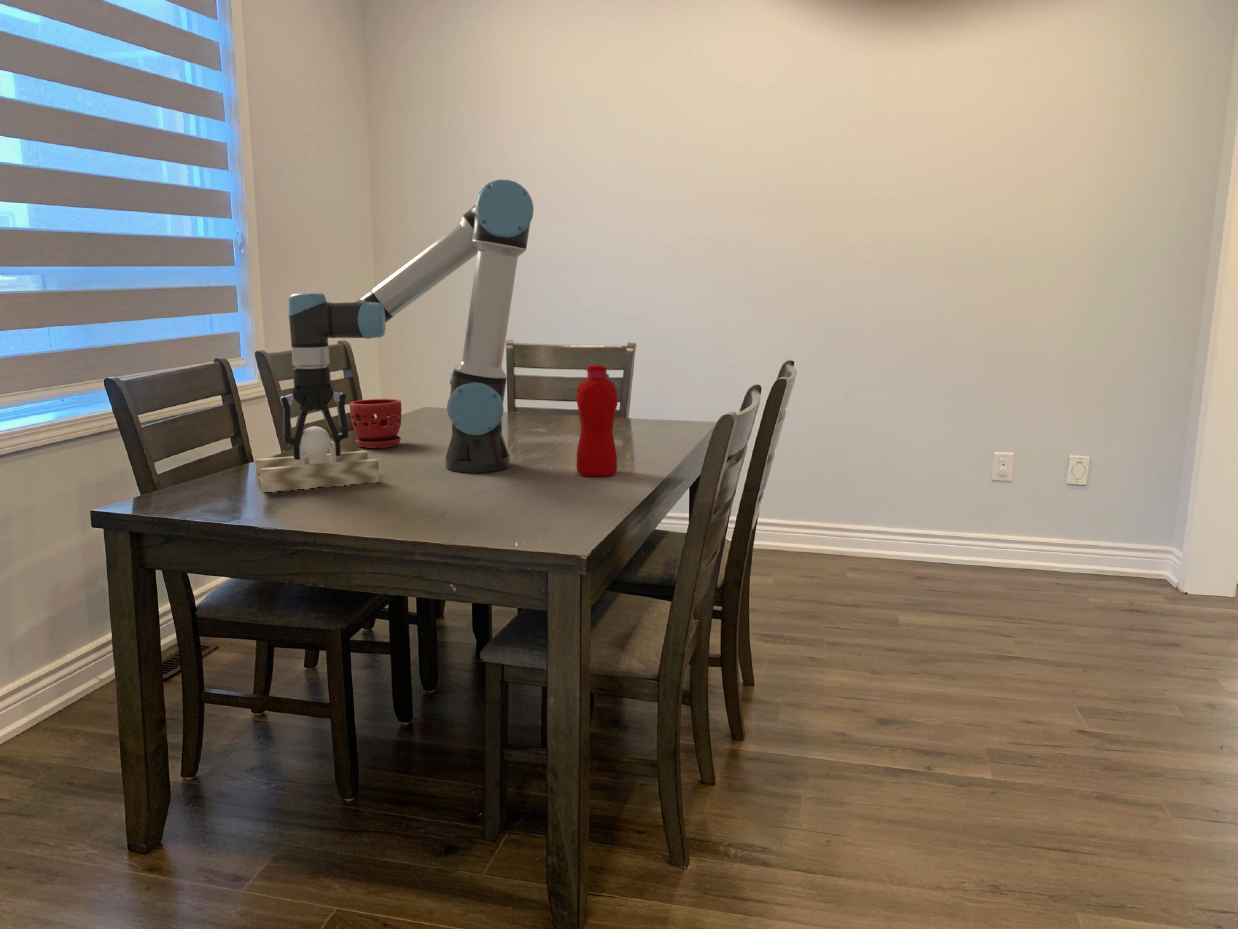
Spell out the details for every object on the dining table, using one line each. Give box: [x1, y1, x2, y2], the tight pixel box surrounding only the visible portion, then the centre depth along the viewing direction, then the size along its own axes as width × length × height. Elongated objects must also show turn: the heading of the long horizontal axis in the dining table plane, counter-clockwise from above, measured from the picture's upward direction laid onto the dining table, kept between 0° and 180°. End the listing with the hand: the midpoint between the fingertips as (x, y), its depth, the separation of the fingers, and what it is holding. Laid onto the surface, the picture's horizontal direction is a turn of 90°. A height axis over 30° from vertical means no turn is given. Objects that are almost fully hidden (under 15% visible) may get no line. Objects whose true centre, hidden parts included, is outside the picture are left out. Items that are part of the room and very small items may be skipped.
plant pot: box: [349, 398, 403, 449], centre depth 249 cm, size 13×13×12 cm
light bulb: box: [299, 426, 332, 464], centre depth 206 cm, size 7×7×11 cm
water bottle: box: [576, 363, 626, 477], centre depth 216 cm, size 9×11×25 cm
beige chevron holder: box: [254, 450, 380, 494], centre depth 207 cm, size 24×12×5 cm, turn 117°
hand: (318, 472), depth 207 cm, fingers closed on light bulb, 6 cm apart
